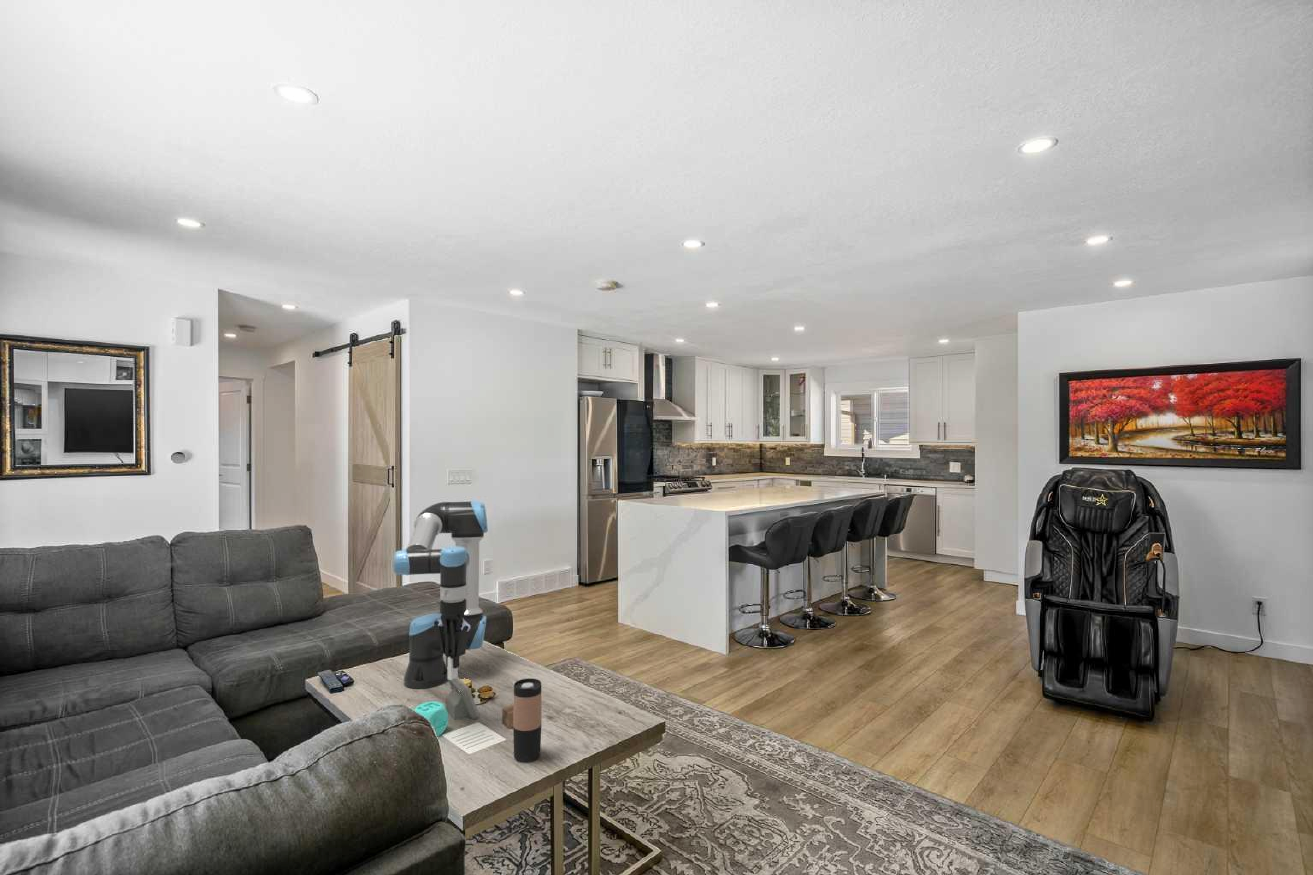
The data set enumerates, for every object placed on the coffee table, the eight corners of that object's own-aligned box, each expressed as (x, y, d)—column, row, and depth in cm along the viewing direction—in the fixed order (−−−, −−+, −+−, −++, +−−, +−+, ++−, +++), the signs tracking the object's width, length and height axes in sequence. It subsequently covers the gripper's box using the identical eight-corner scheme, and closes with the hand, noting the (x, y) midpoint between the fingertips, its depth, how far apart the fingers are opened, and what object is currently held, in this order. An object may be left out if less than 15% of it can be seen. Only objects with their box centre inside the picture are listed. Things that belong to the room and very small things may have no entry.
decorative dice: (448, 731, 184) (449, 705, 184) (426, 742, 177) (426, 714, 177) (431, 725, 188) (431, 699, 188) (408, 735, 182) (408, 708, 182)
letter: (441, 735, 181) (441, 734, 181) (478, 722, 190) (478, 721, 190) (468, 754, 170) (468, 753, 170) (506, 740, 179) (506, 739, 179)
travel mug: (515, 749, 173) (515, 678, 174) (542, 748, 174) (543, 677, 174) (511, 763, 166) (511, 689, 166) (539, 762, 166) (540, 688, 167)
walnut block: (502, 724, 189) (502, 707, 190) (517, 719, 192) (517, 703, 192) (508, 730, 185) (508, 713, 185) (523, 725, 188) (523, 709, 188)
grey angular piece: (479, 720, 192) (480, 686, 192) (449, 725, 188) (449, 690, 188) (472, 700, 207) (473, 668, 207) (444, 705, 203) (444, 672, 203)
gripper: (427, 599, 184) (426, 678, 184) (461, 604, 178) (460, 686, 178) (445, 594, 191) (444, 670, 190) (478, 598, 185) (478, 677, 185)
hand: (452, 677), depth 184 cm, fingers closed
